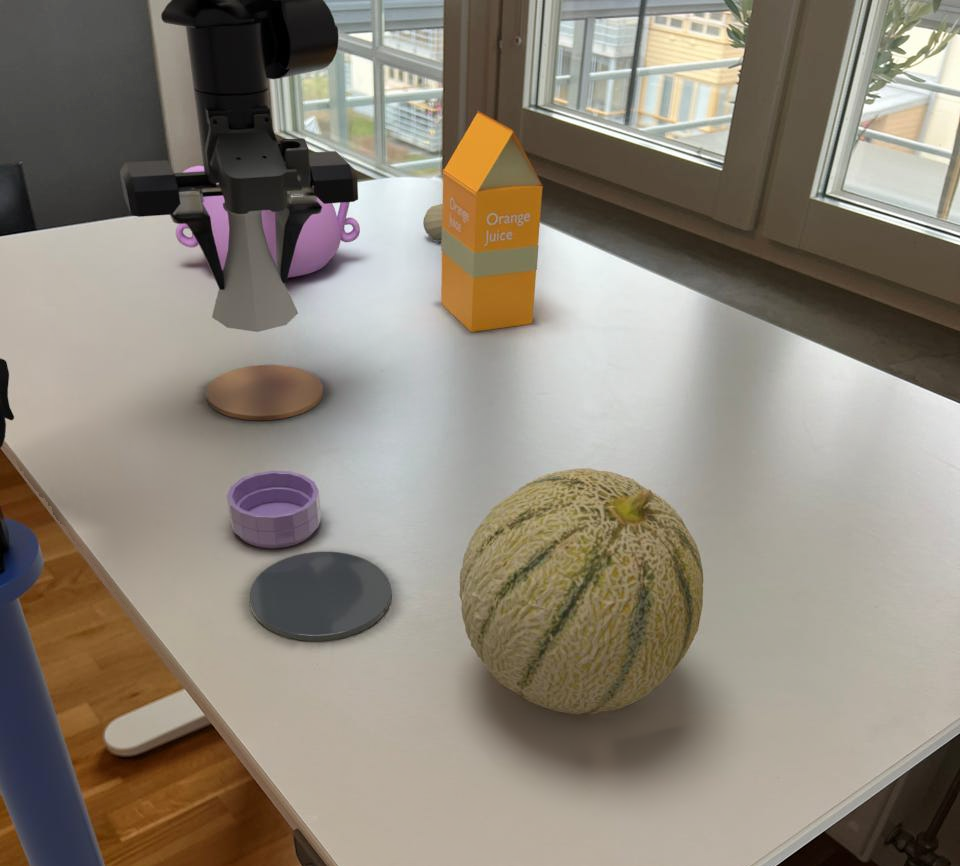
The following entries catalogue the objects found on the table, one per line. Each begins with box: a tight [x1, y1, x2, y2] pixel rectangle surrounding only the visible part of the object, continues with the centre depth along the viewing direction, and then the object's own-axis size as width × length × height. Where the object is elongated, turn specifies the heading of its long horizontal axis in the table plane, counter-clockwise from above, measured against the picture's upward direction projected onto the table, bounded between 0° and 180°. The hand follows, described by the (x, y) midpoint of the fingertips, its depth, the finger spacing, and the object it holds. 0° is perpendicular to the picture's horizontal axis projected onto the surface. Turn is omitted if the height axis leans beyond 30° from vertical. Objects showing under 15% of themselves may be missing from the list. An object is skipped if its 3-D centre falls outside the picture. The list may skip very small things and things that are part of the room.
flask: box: [211, 202, 299, 333], centre depth 87 cm, size 7×7×10 cm
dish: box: [226, 470, 322, 549], centre depth 77 cm, size 7×7×3 cm
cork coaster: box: [205, 364, 324, 421], centre depth 95 cm, size 11×11×1 cm
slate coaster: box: [248, 551, 392, 642], centre depth 71 cm, size 10×10×1 cm
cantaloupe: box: [459, 467, 704, 715], centre depth 60 cm, size 15×15×15 cm
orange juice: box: [440, 110, 544, 333], centre depth 106 cm, size 8×9×20 cm
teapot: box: [175, 163, 361, 278], centre depth 117 cm, size 22×22×14 cm
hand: (251, 285), depth 88 cm, fingers closed on flask, 5 cm apart
